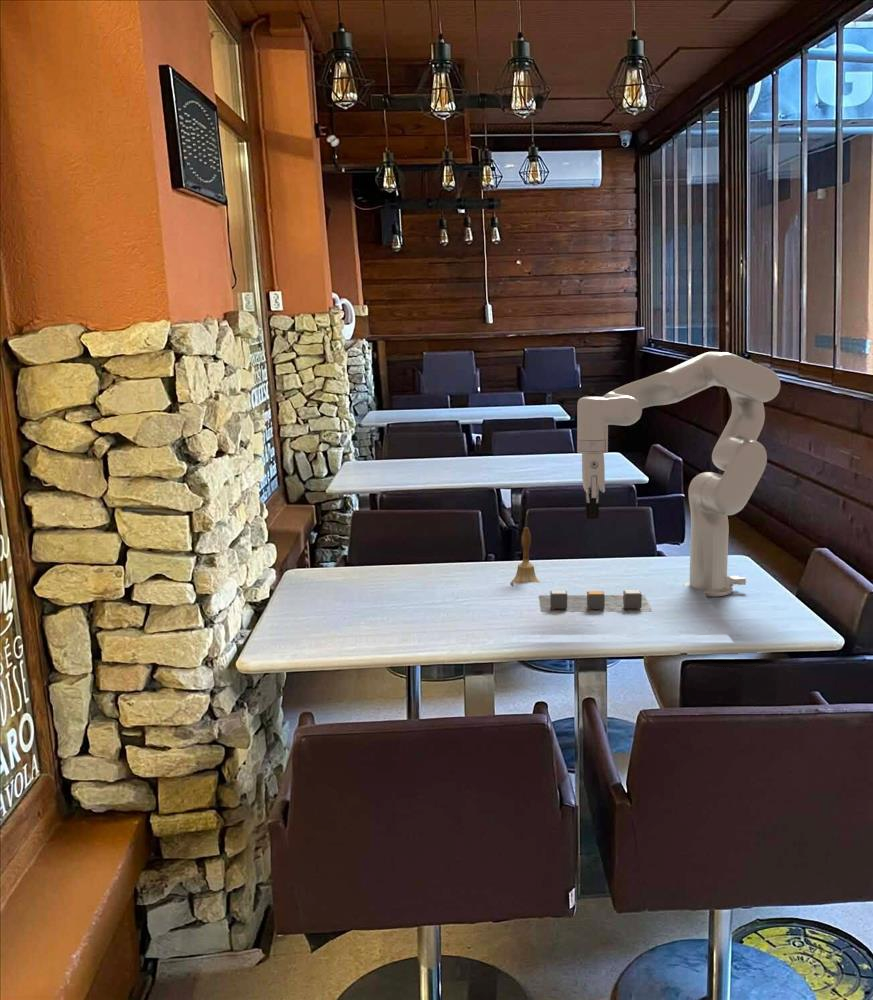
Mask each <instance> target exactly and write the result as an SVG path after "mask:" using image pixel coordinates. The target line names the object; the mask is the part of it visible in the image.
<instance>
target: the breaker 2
mask: <svg viewBox="0 0 873 1000" xmlns="http://www.w3.org/2000/svg"><path fill="white" fill-rule="evenodd" d="M622 595H623V605H624V607H625V608H641V605H642V595H643V594H642V592H641V590H639V589H638V590H637V589H624V590H623V594H622Z"/></svg>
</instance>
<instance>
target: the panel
mask: <svg viewBox="0 0 873 1000" xmlns="http://www.w3.org/2000/svg"><path fill="white" fill-rule="evenodd" d="M604 595H605V609H588V607H587V594H586V595H585V594H584V595H583V594H581V595H580V594H578V595H577V594H575V595H573V594H572V595H570V594H569V595H568V594H567V608H551V606H550V594H549V595H547V594H546V595H545V594H544V595H538V598H539V599H538V600H539V607H540V612H541V613H551V612H553V613H554V612H555V613H557V612H558V613H560V612H561V613H562V612H563V613H566V612H568V613H574V612H575V613H579V612H580V613H583V612H585V613H586V612H587V613H588V612H589V613H590V612H592V613H593V612H598V613H599V612H603V613H607V612H609V613H611V612H614V613H616V612H620V613H621V612H622V613H623V612H636V613H637V612H652V613H653V609H652V607H651V606H650V604H649V602H648V600H647V597H646V596H645V594H642V605H641V608H625V607H624V605H623V594H612V595H611V594H604Z"/></svg>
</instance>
